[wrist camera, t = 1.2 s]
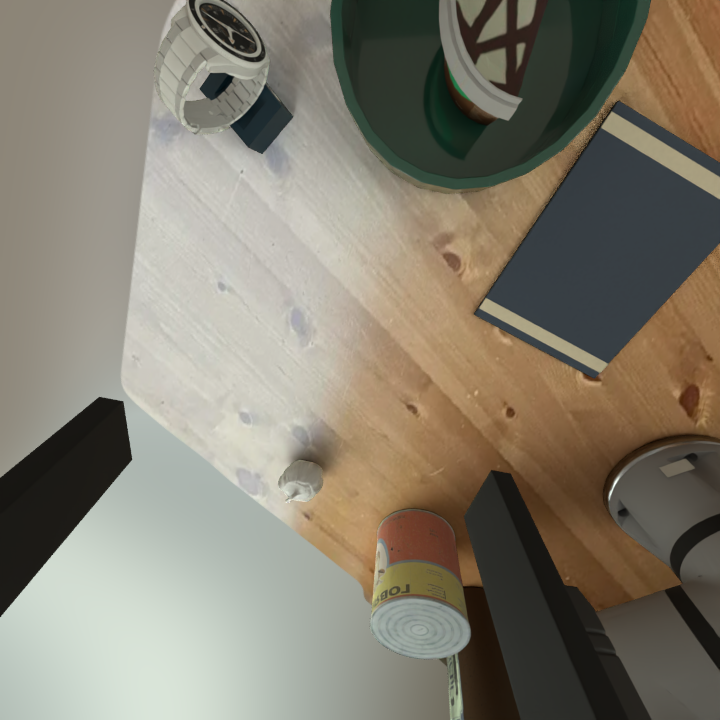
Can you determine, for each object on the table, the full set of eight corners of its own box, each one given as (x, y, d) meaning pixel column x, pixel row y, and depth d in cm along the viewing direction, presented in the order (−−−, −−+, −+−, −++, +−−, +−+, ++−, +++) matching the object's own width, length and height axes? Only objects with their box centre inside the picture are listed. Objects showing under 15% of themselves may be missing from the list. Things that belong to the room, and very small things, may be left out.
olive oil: (510, 585, 50) (602, 894, 27) (505, 628, 54) (581, 928, 31) (438, 581, 51) (467, 871, 29) (438, 623, 55) (464, 906, 33)
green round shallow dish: (678, -45, 23) (745, -110, 19) (500, 233, 31) (517, 236, 27) (423, -215, 22) (428, -332, 17) (305, 125, 30) (288, 108, 25)
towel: (762, 192, 28) (768, 191, 27) (592, 377, 36) (594, 378, 35) (615, 102, 27) (619, 100, 26) (473, 313, 35) (474, 314, 34)
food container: (455, -68, 24) (488, -246, 15) (539, -52, 24) (625, -224, 15) (412, 132, 29) (417, 91, 20) (481, 146, 29) (518, 111, 20)
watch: (308, 98, 29) (259, 33, 19) (250, 168, 32) (180, 143, 22) (262, 38, 28) (184, -65, 18) (206, 116, 31) (110, 64, 20)
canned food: (385, 501, 46) (379, 588, 35) (464, 518, 46) (484, 612, 35) (371, 554, 51) (362, 646, 40) (443, 570, 50) (455, 668, 39)
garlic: (294, 487, 47) (282, 517, 42) (279, 457, 45) (264, 485, 41) (333, 479, 46) (325, 510, 41) (318, 449, 44) (308, 476, 39)
